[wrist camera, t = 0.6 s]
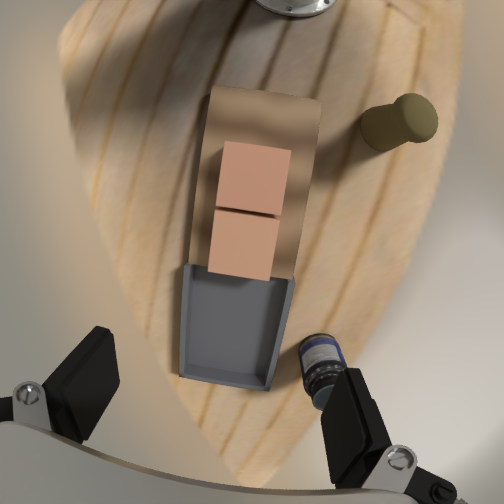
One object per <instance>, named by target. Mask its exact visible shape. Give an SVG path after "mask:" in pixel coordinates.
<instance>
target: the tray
mask: <svg viewBox="0 0 504 504" xmlns="http://www.w3.org/2000/svg"><path fill="white" fill-rule="evenodd" d="M188 262H189V260H188V261H187V263H186V264H185V265H184V272H183V286H182V303H181V322H180V350H179V377H183V378H188V379H193V380H198V381H203V382H208V383H214V384H220V385H226V386H232V387H239V388H246V389H253V390H261V391H269V390H270V387H271V383H272V379H273V375H274V371H275V367H276V363H277V359H278V355H279V351H280V347H281V343H282V339H283V335H284V331H285V327H286V322H287V318H288V314H289V309H290V305H291V300H292V296H293V291H294V287H295V280H294V276H293V278H292V280H290V279H284V278H277V277H270V280H269V281H264V280H258V279H251V278H245V277H238V276H232V275H226V274H220V273H213V272H208V267H207V266H201V265H195V264H189V263H188Z"/></svg>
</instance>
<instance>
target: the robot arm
mask: <svg viewBox="0 0 504 504" xmlns="http://www.w3.org/2000/svg"><path fill="white" fill-rule="evenodd" d="M255 1H256V2H257V3H258V4H259V5H261V6H262V7H264V8H265V9H268V10H270V11H272V12H275V13H278V14H281V15H286V16H294V17H306V16H313V15H317V14H320V13H323V12H325V11H326V10H328V9H329V8H330V7H331V6H332V5H333V4H334V3H335V1H336V0H255ZM119 384H120V379H119V372H118V366H117V359H116V351H115V343H114V336H113V334H112V333H111V332H110V330H109V329H107V328H104V327H100V326H96V327H95V328H93V330H92V331H91V332H90V333H89V334H88V335H87V336H86V337H85V338H84V339H83V340H82V341H81V342H80V343H79V345H78V346H77V347H76V348H75V349H74V350H73V351H72V352H71V353H70V354H69V355H68V356H67V357H66V359H65V360H64V361H63V362H62V363H61V364H60V365H59V366H58V367H57V368H56V370H55V371H54V372H53V373H52V374H51V375H50V376H49V377H48V379H47V380H46V381H45V382H44V383H43V384H42V386H41V385H40V384H38V383H36V382H32V381H27V382H23V383H21V384H19V385H18V386H17V387H15V389H14V391H13V396H11V397H4V398H0V504H468V503H467V502H465V501H464V500H463V499H462V498H461V499H460V500H458V499H457V498H456V497H457V491H456V488H455V487H454V485H453V484H452V483H450V482H449V481H447V480H445V479H442V478H440V477H438V476H436V475H434V474H432V473H430V472H428V471H426V470H424V469H422V468H420V467H418V466H417V457H416V455H415V453H414V452H413V451H412V450H411V449H410V448H408V447H407V446H403V445H393V446H392V443H391V441H390V438H389V435H388V432H387V430H386V427H385V425H384V422H383V419H382V417H381V414H380V412H379V409H378V407H377V404H376V402H375V400H374V399H372V398H371V395H370V393H369V390H368V388H367V385H366V383H365V380H364V378H363V376H362V373H361V371H360V369H359V368H345V369H344V371H340V373H339V375H338V377H337V380H336V382H335V385H334V387H333V389H332V392H331V394H330V396H329V399H328V401H327V403H326V405H325V407H324V410H323V412H322V414H321V425H322V431H323V437H324V443H325V448H326V455H327V461H328V467H329V473H330V479H331V483H332V484H335V487H336V489H327V490H282V489H263V488H251V487H241V486H233V485H225V484H218V483H211V482H206V481H200V480H195V479H189V478H185V477H181V476H176V475H172V474H168V473H164V472H160V471H156V470H153V469H149V468H146V467H142V466H139V465H136V464H133V463H130V462H126V461H123V460H121V459H118V458H115V457H112V456H109V455H107V454H104V453H101V452H99V451H96V450H94V449H91V448H89V447H86V446H84V445H81V444H82V443H83V441H84V440H85V441H86V440H88V438H89V437H90V435H91V433H92V431H93V430H94V428H95V426H96V424H97V423H98V421H99V419H100V418H101V416H102V414H103V412H104V411H105V409H106V407H107V406H108V404H109V402H110V401H111V399H112V397H113V396H114V394H115V392H116V391H117V389H118V387H119Z"/></svg>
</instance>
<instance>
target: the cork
mask: <svg viewBox="0 0 504 504" xmlns="http://www.w3.org/2000/svg"><path fill="white" fill-rule="evenodd" d="M437 127H438V116H437V113H436V110H435V108H434V107H433V105H432V104H431V103H430V102H429V101H428V100H427V99H426V98H424V97H423V96H421V95H418V94H415V93H410V94H404V95H402V96H400V97H398V98H397V99H396V101H395V102H394V103H393V104H388V105H382V106H377V107H372V108H370V109H368V110H366V111H365V113H364V114H363V115H362V118H361V121H360V130H361V133H362V136H363V138H364V140H365V141H366V142H367V143H368V144H369V145H370V146H371V147H372V148H374V149H376V150H379V151H388V150H391V149H393V148H396V147H398V146H400V145H402V144H404V143H406V142H408V141H410V142H414V143H421V142H426V141H428V140H429V139H431V138H432V137H433V136H434V134H435V133H436V131H437Z"/></svg>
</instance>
